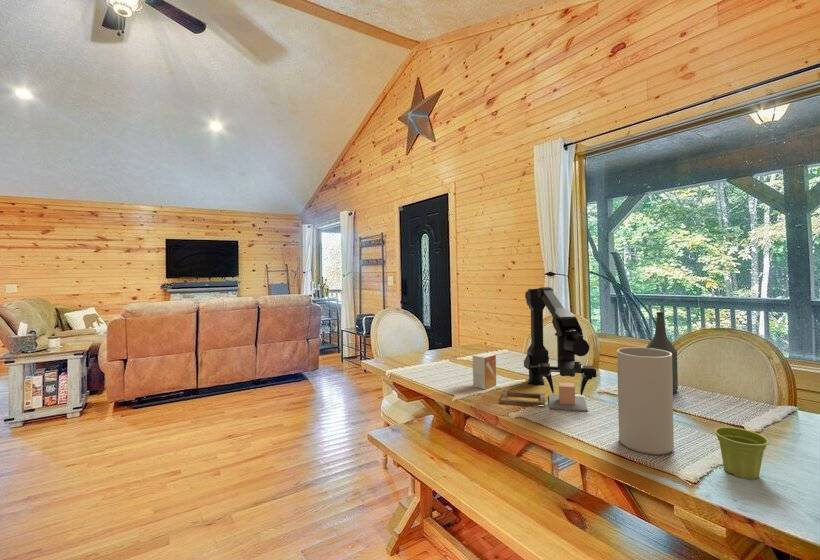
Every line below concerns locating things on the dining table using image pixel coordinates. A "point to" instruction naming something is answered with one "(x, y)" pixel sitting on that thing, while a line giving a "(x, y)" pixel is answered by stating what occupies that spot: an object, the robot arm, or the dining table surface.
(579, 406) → the mat
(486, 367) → the small box
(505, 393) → the holder
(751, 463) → the plant pot
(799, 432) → the dining table surface
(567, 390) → the block
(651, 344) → the bottle
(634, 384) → the cylinder vase
